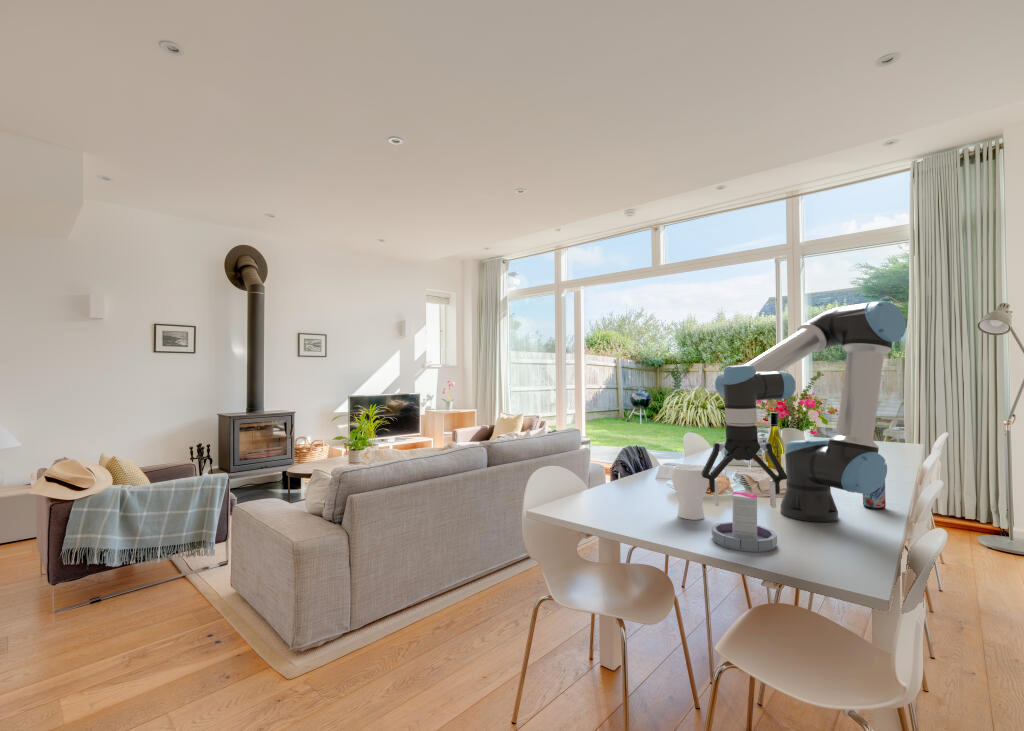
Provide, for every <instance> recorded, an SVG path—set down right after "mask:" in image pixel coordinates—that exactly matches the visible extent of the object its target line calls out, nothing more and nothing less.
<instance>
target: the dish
mask: <svg viewBox="0 0 1024 731" xmlns="http://www.w3.org/2000/svg"><path fill="white" fill-rule="evenodd" d="M732 528H733V521H727V522H719V523H716V524H715V523H714V525H712V526H711V536H712V538H711V539H712V541H713V542H714V543H715V544H717V545H719V546H721V547H722V548H723V547H724V548H727V549H730V550H734V551H739V552H745V553H766V552H771V551H774V550H775V549H776V548H777V544H778V535H777V533H776V532H775V531H774V530H772V529H771V528H770V529H769V528H768V527H765V526H762V525H758V524H757V540H753V539H740V538H736V537H732Z"/></svg>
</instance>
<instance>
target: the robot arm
mask: <svg viewBox="0 0 1024 731" xmlns="http://www.w3.org/2000/svg"><path fill="white" fill-rule="evenodd" d="M906 327H907V326H906V320H905V317H904V314H903V312H902V311H901V309H900V308H899V307H898V306H897V305H896V304H894V303H892V302H890V301H886V300H879V301H878V300H877V301H868V302H864V303H856V304H849V305H845V306H843V305H842V306H836V307H833V308H830V309H828V310H826V311H824V312H822V313H820V314H818V315H817V316H815V317H813V318H811V319H810V320H808V321H806V322H805V323H803V324H801V325H800V326H799V327H797V330H796V332H795V333H793V334H792V335H790V336H788V337H787V338H785V339H784V340H782V341H780V342H778V343H777V344H776V345H774V346H772V347H770V348H769V349H768V350H766V351H764V352H763V353H761V354H759V355H758V356H756V357H755V358H753V359H751V360H750V361H748V362H747V363H745V364H743V365H727V366H726V367H724V368H723V372H721V373H719V374H718V376H717V377H716V378H715V383H714V387H715V389H716V392H717V393H718V394H719V395H720V396H722V397H723V398H724V399H723V400H724V420H725V423H726V424H725V443H721V442H720V443H719V442H718V441H714V442H713V444H712V445H713V446H712V451H711V453H710V455H709V457H708V459H707V461H706V463H705V465H704V466H703V467H704V469H703V471H702V473H701V474H702V476H703V477H704V478H707V479H709V484H708V487H709V491H710V493H713V503H714V504H713V505H715V506H716V507H719V506H720V505H719V504H720V502H719V482H718V479H717V477H718V476H719V475H720V474H721V472H722V471H724V469H725V468H726V467H727V466H729V464H730V463H731V462H732V461H733V460H736V461H742V460H744V461H750V460H754V461H755V462H756V463H757V464H758V465H759V467H760V468H762V469H763V471H765V472H766V474H767V475H768V476H769V477H770V478H772V479H769V481H768V483H769V484H768V486H769V488H768V489H769V505H770V507H771V508H772V509H776V508H777V499H776V497H777V495H780V486H781V485H780V483H781V481H783V480H785V481H786V484H785V485H786V489H785V490H784V491H785V492H784V493H783V498H782V500H781V502H780V513H781V515H783V516H786V517H788V518H792V519H796V520H800V521H806V522H813V523H814V522H816V523H830V522H832V523H833V522H836V521H838V520H839V511H838V507H837V505H836V503H835V500H834V498H833V495H832V491H831V490H832V489H831V488H833V489H834V488H835V489H838V490H843V491H846V492H849V493H854V494H855V493H856V494H862V495H863V494H868V493H872V492H874V491H876V489H877V488H879V487H880V486H881V485H882V484H883V482H884V480H885V481H886V478H887V474H888V464H887V463H886V459H885V457H883V455H881V454H880V453H879V451H880V450H879V446H878V445H877V444H876V443H875V441H874V432H875V426H876V419H877V412H878V411H877V410H878V403H879V395H880V388H881V382H882V373H883V366H884V359H885V356H886V355H888V354H889V353H891V352H892V348H893V343H896V342H898V341H900V340H901V339H902V338H903V337H904V335H905V333H906ZM836 346H841V348H842V350H843V351H845V352H846V361H845V367H844V373H843V382H842V387H841V388H842V389H841V390H842V391H841V395H840V404H839V410H838V417H837V418H838V419H837V426H836V432H835V434H834V435H833V436H831V437H830V438H828V439H805V440H804V439H802V440H790V441H788V442H787V443H786V445H785V453H784V455H785V459H784V460H785V470H784V469H783V466H782V465H781V463H780V462H779V459H777V456H776V455H775V453H774V450H773V445H772V443H770V442H768V441H766V442H763V443H759V440H758V439H759V438H758V436H759V435H758V426H757V425H756V423H758V416H757V401H767V400H768V401H769V400H770V401H771V400H779V401H781V400H783V399H789V398H791V397H792V396H793V395H794V393H795V391H796V386H797V385H796V379H795V378H794V376H793V375H792V374H791V373H789V372H788V371H785V370H787V369H788V368H790V367H791V366H793V365H795V364H797V362H800V360H801V361H802V359H804V358H805V357H807V356H809V355H810V354H812V353H819V352H821V351H824V350H825V349H826V348H830V347H836ZM723 449H725V451H727V453H726V454H725V456H724V457H723V459H722V460H721V461H720V462H719V463H718V464H717V465H716V466H715V468H714V469H712V468H713V466H714V464H715V461H716V459H718V456H719V453H720V452H721V451H723ZM760 449H761V450H762V451H763V452H765V453H766V455H767V457H768V458H769V460H770V461H771V464H772V465H773V467H774V468H775V471H777V473H778V474H776V473H775V472H774V471H773V470H772V469H771V468H770V467H769V466H768V465H767V463H765V461H763V460H762V458H760V456H759V455H758V454H757V453H759V451H760ZM711 470H712V471H711ZM710 471H711V472H710Z"/></svg>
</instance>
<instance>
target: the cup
mask: <svg viewBox="0 0 1024 731" xmlns="http://www.w3.org/2000/svg"><path fill="white" fill-rule="evenodd" d="M704 467H705V466H702V465H697V464H677V465H674V466H673V469H672V474H671V480H672V481H671V482H672V485H673V488H674V491H675V492H676V494H677V499H678V508H677V517H679V518H682V519H685V520H693V521H694V520H695V521H697V520H703V519H704V518H705V513H704V508H703V503H704V496H705V494H706V493H707V490H708V487H709V479H707V478H704V477H703V476H702V474H701V473H702V471H703V469H704Z"/></svg>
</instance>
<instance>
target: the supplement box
mask: <svg viewBox="0 0 1024 731" xmlns="http://www.w3.org/2000/svg"><path fill="white" fill-rule="evenodd" d="M732 522H733V528H732V537H736V538H740V539H753V540H757V525H758V497H757V494H756V493H751V492H750V493H749V492H739V491H732Z"/></svg>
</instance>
